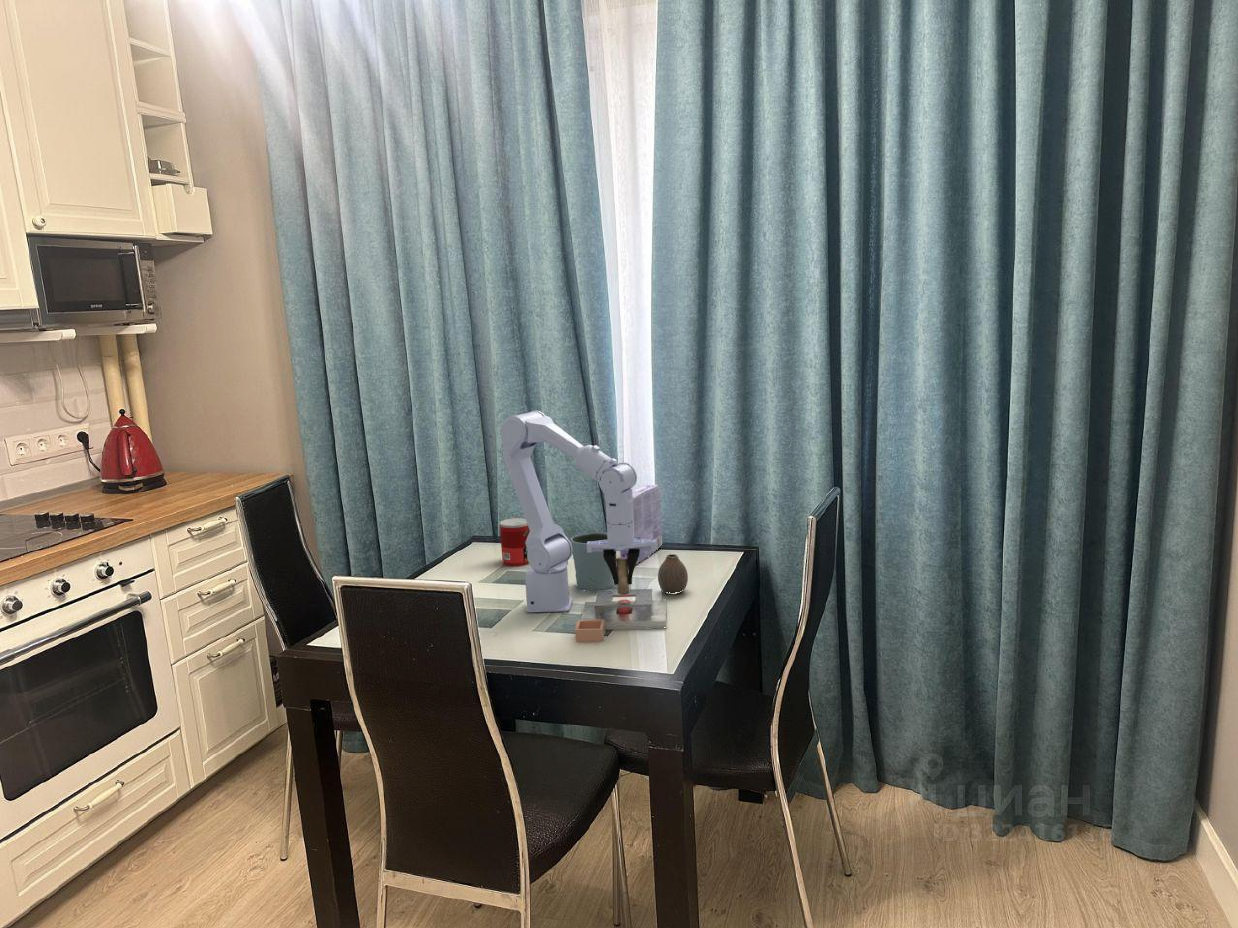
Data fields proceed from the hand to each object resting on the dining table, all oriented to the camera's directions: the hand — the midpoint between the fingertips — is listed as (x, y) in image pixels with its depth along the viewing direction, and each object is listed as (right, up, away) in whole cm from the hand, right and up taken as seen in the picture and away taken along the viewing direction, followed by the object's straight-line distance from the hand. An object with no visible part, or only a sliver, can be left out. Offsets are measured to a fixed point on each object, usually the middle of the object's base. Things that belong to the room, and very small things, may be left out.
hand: (623, 583), depth 195 cm
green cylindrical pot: (-7, -4, +24) cm, 25 cm away
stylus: (0, -2, 0) cm, 2 cm away
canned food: (-28, -1, +46) cm, 54 cm away
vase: (+12, -4, +17) cm, 21 cm away
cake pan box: (+5, +1, +47) cm, 47 cm away
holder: (-7, -10, -8) cm, 14 cm away
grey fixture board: (0, -8, +1) cm, 8 cm away
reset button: (0, -7, +1) cm, 7 cm away
